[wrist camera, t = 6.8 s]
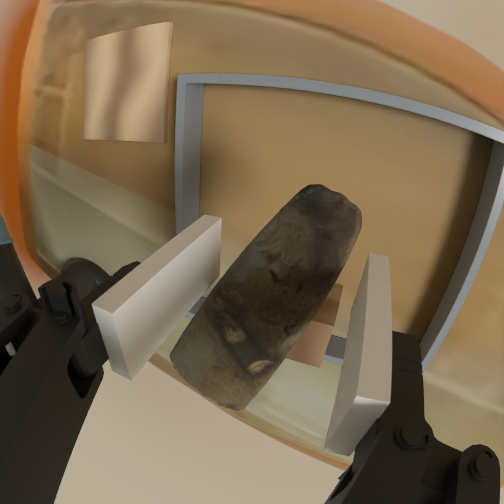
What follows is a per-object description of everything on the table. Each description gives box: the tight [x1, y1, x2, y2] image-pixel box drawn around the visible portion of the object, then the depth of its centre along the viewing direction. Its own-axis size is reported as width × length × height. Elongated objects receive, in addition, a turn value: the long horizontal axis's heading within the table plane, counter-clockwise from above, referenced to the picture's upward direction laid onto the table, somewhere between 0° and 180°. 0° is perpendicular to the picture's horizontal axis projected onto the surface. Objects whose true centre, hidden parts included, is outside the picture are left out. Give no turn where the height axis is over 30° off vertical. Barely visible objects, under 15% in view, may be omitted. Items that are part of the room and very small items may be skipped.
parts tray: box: [175, 73, 504, 374], centre depth 25 cm, size 26×24×3 cm
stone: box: [170, 184, 362, 411], centre depth 13 cm, size 13×5×2 cm, turn 156°
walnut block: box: [285, 283, 343, 368], centre depth 27 cm, size 5×5×6 cm
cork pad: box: [83, 22, 173, 143], centre depth 26 cm, size 12×12×1 cm
